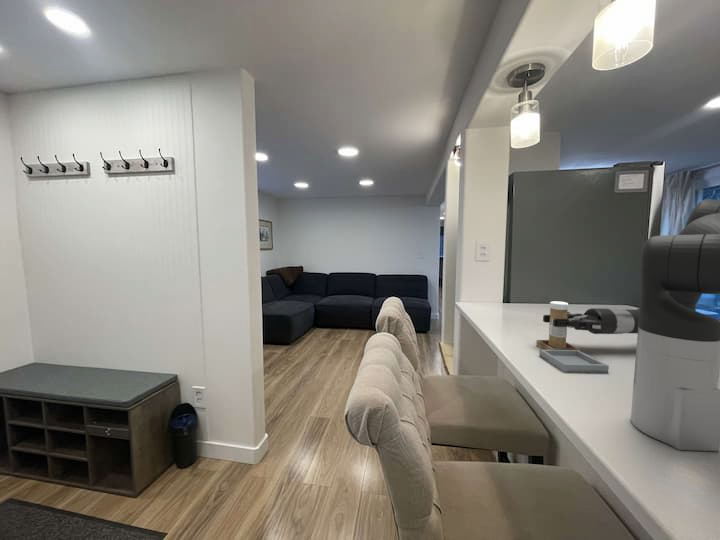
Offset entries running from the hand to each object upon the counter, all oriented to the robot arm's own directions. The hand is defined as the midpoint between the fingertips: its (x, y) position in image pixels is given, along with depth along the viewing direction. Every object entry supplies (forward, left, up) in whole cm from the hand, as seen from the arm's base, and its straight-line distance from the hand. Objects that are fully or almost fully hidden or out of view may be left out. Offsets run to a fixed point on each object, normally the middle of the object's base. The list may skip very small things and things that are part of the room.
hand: (549, 320), depth 85 cm
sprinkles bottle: (0, -3, -8) cm, 8 cm away
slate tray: (-10, 0, -9) cm, 14 cm away
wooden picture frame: (0, -3, -9) cm, 10 cm away
